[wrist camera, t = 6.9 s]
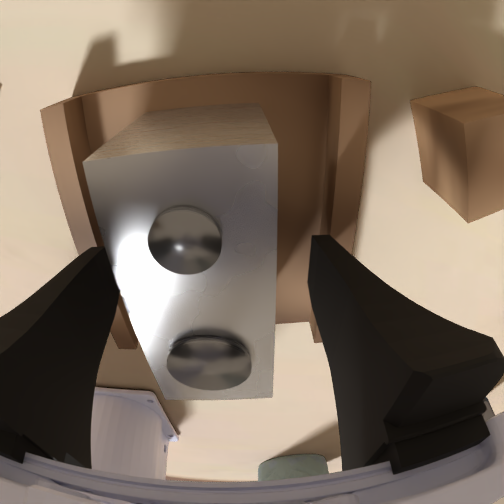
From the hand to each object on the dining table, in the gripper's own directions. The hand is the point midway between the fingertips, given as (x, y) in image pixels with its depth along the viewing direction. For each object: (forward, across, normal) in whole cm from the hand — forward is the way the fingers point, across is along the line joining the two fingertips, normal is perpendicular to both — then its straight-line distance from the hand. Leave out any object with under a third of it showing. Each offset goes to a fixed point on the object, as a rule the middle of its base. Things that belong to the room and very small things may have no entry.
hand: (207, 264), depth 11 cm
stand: (+4, 0, 0) cm, 4 cm away
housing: (+3, 0, 0) cm, 3 cm away
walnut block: (+4, -11, -4) cm, 12 cm away
